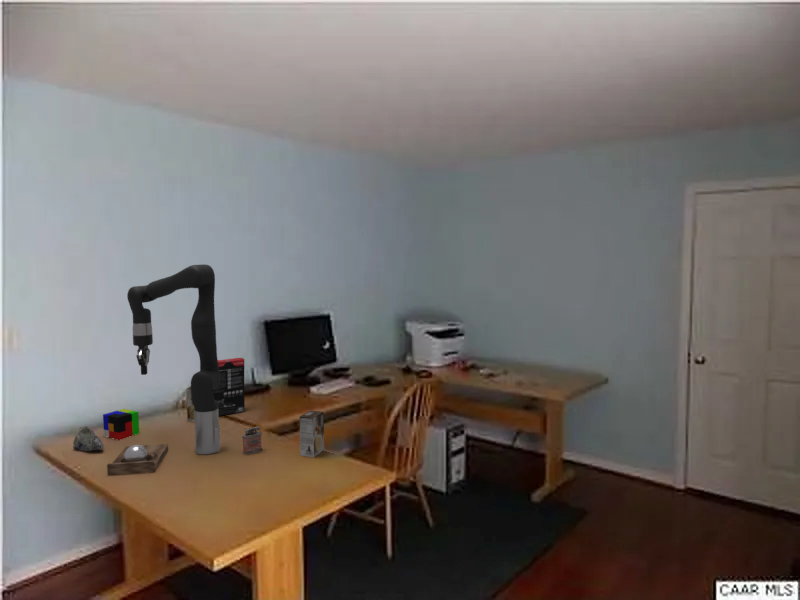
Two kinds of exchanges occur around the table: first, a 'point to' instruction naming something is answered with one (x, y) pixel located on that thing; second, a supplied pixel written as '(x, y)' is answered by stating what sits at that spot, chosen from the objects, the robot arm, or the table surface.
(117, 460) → the wooden ball holder
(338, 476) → the table surface
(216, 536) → the table surface
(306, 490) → the table surface
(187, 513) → the table surface
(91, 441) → the mineral rock
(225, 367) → the graphics card box
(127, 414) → the puzzle toy
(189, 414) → the coffee box
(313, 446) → the coffee box
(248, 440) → the lighter
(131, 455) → the steel ball
